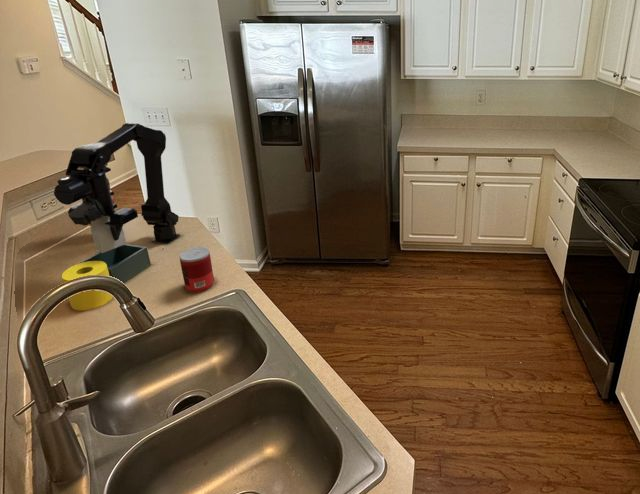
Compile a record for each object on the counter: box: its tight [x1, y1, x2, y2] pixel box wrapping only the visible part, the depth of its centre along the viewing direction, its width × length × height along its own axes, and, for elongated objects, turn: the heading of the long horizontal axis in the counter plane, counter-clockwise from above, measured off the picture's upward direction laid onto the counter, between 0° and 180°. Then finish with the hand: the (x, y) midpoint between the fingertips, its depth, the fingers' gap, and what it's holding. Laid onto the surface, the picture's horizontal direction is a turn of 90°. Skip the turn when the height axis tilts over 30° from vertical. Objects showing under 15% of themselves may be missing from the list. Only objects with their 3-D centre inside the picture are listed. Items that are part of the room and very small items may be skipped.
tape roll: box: [61, 261, 114, 311], centre depth 119 cm, size 10×10×9 cm
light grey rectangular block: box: [90, 216, 127, 253], centre depth 127 cm, size 4×7×10 cm, turn 148°
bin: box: [78, 243, 152, 284], centre depth 132 cm, size 14×12×7 cm
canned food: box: [179, 246, 215, 293], centre depth 126 cm, size 8×8×11 cm
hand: (109, 238), depth 128 cm, fingers closed on light grey rectangular block, 4 cm apart
